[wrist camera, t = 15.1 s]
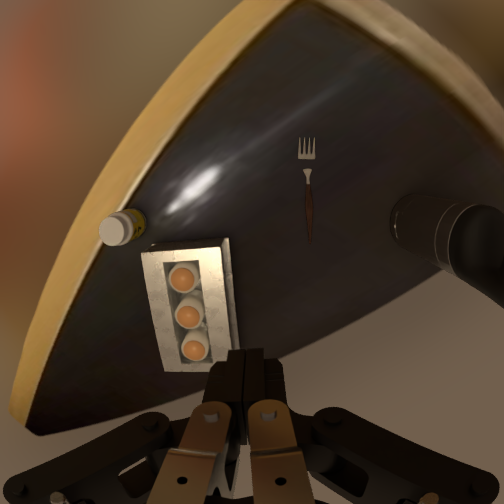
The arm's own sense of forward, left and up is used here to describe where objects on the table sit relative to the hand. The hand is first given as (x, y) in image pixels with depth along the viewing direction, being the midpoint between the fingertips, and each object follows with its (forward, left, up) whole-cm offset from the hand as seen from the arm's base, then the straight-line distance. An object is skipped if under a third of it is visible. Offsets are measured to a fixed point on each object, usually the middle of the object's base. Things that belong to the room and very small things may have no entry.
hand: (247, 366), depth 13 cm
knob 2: (+10, +10, -34) cm, 36 cm away
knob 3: (+10, +15, -34) cm, 38 cm away
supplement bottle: (+19, -3, -35) cm, 40 cm away
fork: (-8, -6, -36) cm, 37 cm away
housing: (+10, +10, -35) cm, 38 cm away
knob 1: (+10, +5, -34) cm, 35 cm away
